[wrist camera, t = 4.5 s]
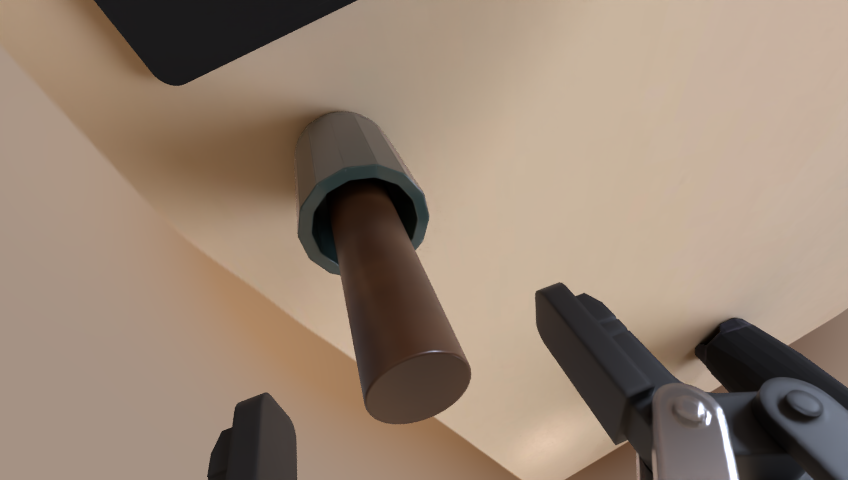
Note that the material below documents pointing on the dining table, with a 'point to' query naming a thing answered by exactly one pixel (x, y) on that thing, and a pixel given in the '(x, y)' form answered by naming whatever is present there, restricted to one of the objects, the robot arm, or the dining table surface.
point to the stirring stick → (393, 310)
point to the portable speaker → (760, 361)
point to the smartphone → (206, 30)
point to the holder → (349, 160)
